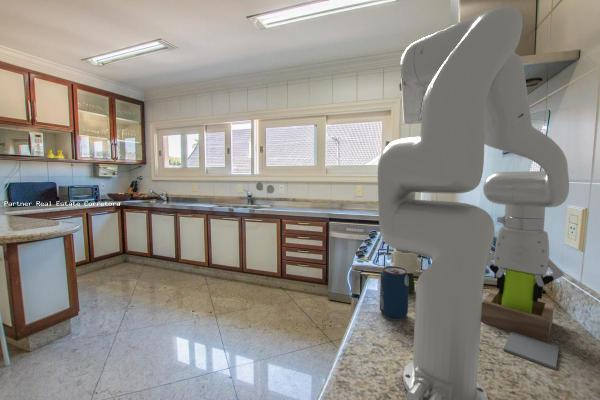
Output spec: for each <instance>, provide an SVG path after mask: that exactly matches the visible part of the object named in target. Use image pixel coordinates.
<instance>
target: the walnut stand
mask: <svg viewBox="0 0 600 400" xmlns="http://www.w3.org/2000/svg"><path fill="white" fill-rule="evenodd" d="M502 296H503V293H502V294H501V293H499V289H498V288H492V289H491V291H490V292H489V293H488V294H487V295H486V297H485V298H484V299H482V313H481V323H485V324H488V325H491V326H493V327H496V328H500V329H503V330H507V331H509V332H514V333H518V334H521V335H524V336H527V337H530V338H533V339H536V340H539V341H542V342H545V343H548V344H549V340H550V336H551V331H552V327H553V323H554V322H553V320H554V309H555V303H554V302H551V301H547V300H543V299H540V298H538V301H537V302H534V301H533V305H532V312H531V313H529V312H525V311H521V310H518V309H514V308H510V307H507V306H503V305H501V304H502Z"/></svg>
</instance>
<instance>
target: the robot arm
mask: <svg viewBox="0 0 600 400" xmlns="http://www.w3.org/2000/svg"><path fill="white" fill-rule="evenodd" d="M523 24H524V23H523V16H522V14H521V12H520V10H519V9H518V8H516V7H513V6H511V5H509V6H508V5H507V6H506V5H504V6H503V5H502V6H498V7H497V6H496V7H495V8H491V9H488V10H485V11H483V12H481V13H478V14H475V15H474V16H470V17H469V18H466V19H464V20H461V21H458V22H457V23H454V24H452V25H450V26H448V27H446V28H443V29H441V30H439V31H436V32H433V33H432V34H429V35H426V36H424V37H422V38H420V39H418V40H416V41H414V42H413V43H411V44H410V45H409V46H408V47H406V49H405V50H404V52H403V53H402V56H401V58H400V59H401V60H400V65H399V67H400V73H401V77H402V78H403V81H404V83H405V84H406V86H407V87H408V88H409V89H410V90H411V91H413V92H414V94H416V95H418V96H420V97H421V98H422V103H421V124H420V134H419V135H418V136H417V135H416V136H410V137H409V136H408V137H404V138H398V139H395V140H393V141H391V142H390V143H388V144H387V145H386V146H385V148H384V149H383V151H382V152H381V154H380V157H379V160H378V165H377V197H378V202H377V203H378V205H377V206H378V224H379V231H380V235H381V237H382V240H383V241H384V243H385V244H387V246H389V247H390V248H392V249H398V250H402V251H406V252H410V253H415V254H418V256H419V255H420V256H423V257H426V258H429V259H431V260H432V262H431V264H430V265H429V266H427V268H426V269H425V270H424V271H423V272H422V273H421V274H420V275H419V277H418V279H417V281H416V287H415V304H414V305H415V306H414V307H415V309H414V326H413V327H414V332H413V353H412V354H413V355H412V361H409V362H408V363H407V364H406V365H405V366H404V368H403V371H402V382H403V385H404V388H405V389H406V391H407V393H406V394H405V399H406V400H489V399H488V394H487V391H486V390H485V388H484V386H483V385H482V384H481V383H480V382H479V381H478V374H479V356H480V342H481V341H480V340H481V329H482V328H481V326H482V325H481V324H482V322H481V313H482V302H483V293H484V284H485V277H486V276H485V275H486V272H487V267H488V268H489V269H490V270H491V271H492V273H494V275H495V277H496V289H499V293H501V294H502V293H503V288H504V281H505V273H506V269H508V270H513V271H519V272H523V273H528V274H534V275H535V280H536V283H535V285H534V295H533V301H534V302H537V301H538V299H540V300H543V299H542V298H543V290H544V286H546V285H548V284H550V283H551V282H554V281H555V280H557V279H560V278H562V277H564V274H565V273H564V271H562V269H561V268H560V267H558V266H557V264H556V263H554V262H553V261H552V260H551V259H550V242H549V241H550V240H549V234H548V231H545V219H546V208H556V207H559V206H561V205H563V204H564V202H566V201H567V198H568V196H569V192H570V191H569V190H570V178H569V177H570V176H569V168H568V167H569V166H568V161H567V160H568V159H567V156H566V155H565V153H564V151H563V149H562V148H561V147H560V146H559V145H558V144H557V143H556V142H555V141H554V140H553V139H552V138H551V137H549V136H548V135H547V134H545V133H544V132H542V131H540V130H539V129H537V128H536V127H534V126H533V125H532V119H531V118H532V117H531V109H530V103H529V95H528V88H527V82H526V76H525V75H526V74H525V66H524V62H523V59H522V58H521V55H519V54H518V53H516V52H515V51H516V49H517V47H518V45H519V43H520V40H521V37H522V31H523ZM485 145H486V146H488V147H490V148H493V149H496V150H499V151H503V152H506V153H510V154H513V155H517V156H519V157H523V158H526V159H528V160H530V161H532V162H534V163H535V164H537V165H538V166H540V167H541V168H542V169H543V170H541V171H540V170H535V171H534V170H533V171H530V170H529V171H525V170H524V171H521V170H520V171H500V172H495V173H492V174H491V175H489V176H488V177H487V178H486V179H485V181H484V183H483V194H484V196H485V198H486V199H487V201H489V202H491V203H493V204H497V205H504V207H505V209H504V215H503V216H501V217H500V216H497V219H496V222H497V223H500V224H502V227H500V228H499V230H498V234H497V237H496V240H495V241H496V242H495V248H494V251H493V252H491V250H492V246H493V243H494V237H495V222H494V220H493V218H492V216H491V215H490V214H489V213H488V212H487V211H486V210H485V209H483V208H482V207H479V206H477V205H474V204H470V203H465V202H460V201H459V202H458V201H445V200H444V201H443V200H428V199H427V200H426V199H416V193H423V194H424V193H425V194H450V195H451V194H465V193H468V192H472V191H474V190H475V189H476V188H477V187H479V185H480V183H481V182H482V178H483V172H484V165H485V164H484V162H485ZM548 269H550V270H551V271H552V273H550V274H547V273H548V271H549V270H548ZM546 274H547V275H546ZM544 275H545V276H544Z"/></svg>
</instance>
